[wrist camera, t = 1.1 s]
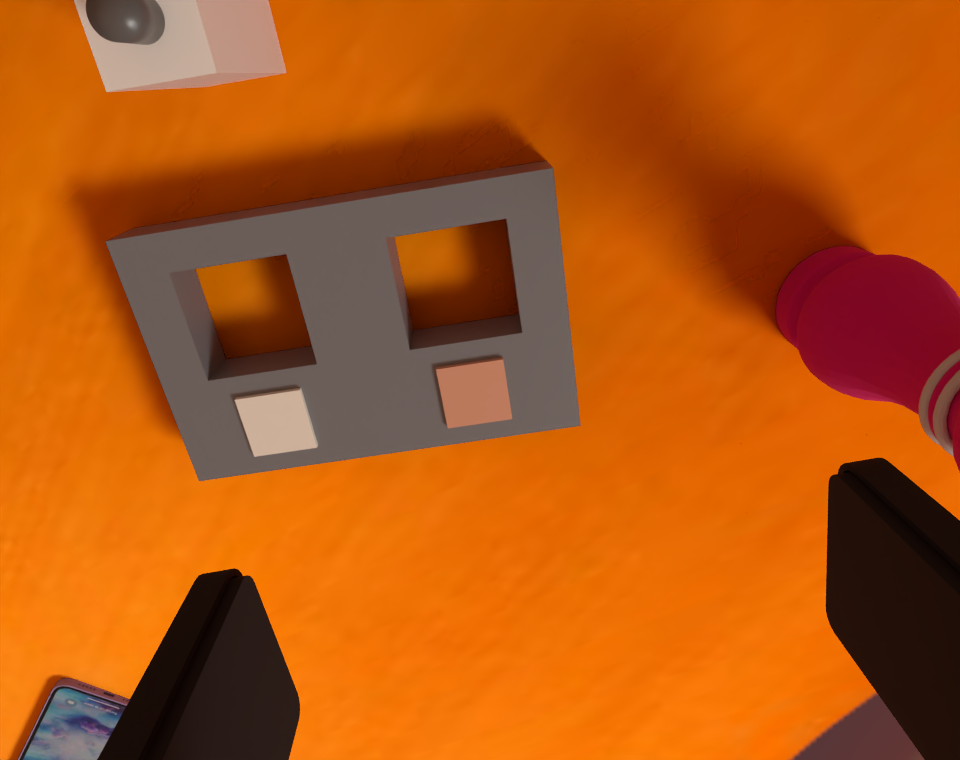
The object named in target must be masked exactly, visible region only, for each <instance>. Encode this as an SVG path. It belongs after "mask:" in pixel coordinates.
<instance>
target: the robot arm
mask: <svg viewBox="0 0 960 760" xmlns="http://www.w3.org/2000/svg"><path fill="white" fill-rule="evenodd" d="M826 613H827V617H828V620H829V623H830V625H831V628H832V629H833V631H834V633H835V634H836V636H837V637H838V638H839V640H840V641H841V643H842V644H843V645H844V647H845V648H846V650H847V651H848V653H849V654H850V655H851V657H852V658H853V660H854V661H855V662H856V664H857V665H858V667H859V668H860V669H861V671H862V672H863V674H864V675H865V676H866V678H867V679H868V681H869V682H870V683H871V685H872V686H873V688H874V689H875V690H876V692H877V693H878V695H879V696H880V697H881V699H882V700H883V702H884V703H885V704H886V706H887V707H888V709H889V710H890V711H891V713H892V714H893V716H894V717H895V718H896V720H897V721H898V723H899V724H900V725H901V727H902V728H903V730H904V731H905V732H906V734H907V735H908V737H909V738H910V740H911V741H912V742H913V744H914V745H915V747H916V748H917V749H918V751H919V752H920V754H921V755H922V756H923V758H924V759H925V760H960V521H959V520H958V519H957V518H956V517H955V516H953V515H952V514H951V513H950V512H949V511H947V510H946V509H945V508H944V507H942V506H941V505H940V504H939V503H938V502H936V501H935V500H934V499H933V498H932V497H930V496H929V495H928V494H927V493H926V492H924V491H923V490H922V489H921V488H920V487H918V486H917V485H916V484H915V483H914V482H912V481H911V480H910V479H909V478H908V477H906V476H905V475H904V474H903V473H902V472H900V471H899V470H898V469H897V468H896V467H894V466H893V465H892V464H891V463H890V462H888V461H887V460H885V459H883V458H874V459H868V460H862V461H856V462H850V463H845V464H843V465H841V466H840V468H839V471H838V474H836V475H832V476H831V477H830V479H829V491H828V535H827V579H826ZM299 715H300V703H299V697H298V693H297V691H296V688H295V685H294V683H293V680H292V678H291V675H290V673H289V670H288V667H287V665H286V662H285V660H284V657H283V655H282V652H281V649H280V647H279V644H278V642H277V639H276V637H275V634H274V631H273V629H272V626H271V624H270V621H269V619H268V616H267V613H266V611H265V608H264V606H263V603H262V601H261V598H260V595H259V593H258V590H257V588H256V585H255V583H254V581H253V579H252V578H251V577H250V576H248V575H247V576H242V574H241V572H240V571H239V570H238V569H229V570H223V571H217V572H211V573H206V574H202V575H199V576H198V577H197V579H196V580H195V582H194V583H193V585H192V587H191V589H190V591H189V593H188V594H187V596H186V598H185V600H184V602H183V604H182V605H181V607H180V609H179V611H178V613H177V615H176V616H175V618H174V620H173V622H172V624H171V626H170V627H169V629H168V631H167V633H166V635H165V636H164V638H163V640H162V642H161V644H160V646H159V647H158V649H157V651H156V653H155V655H154V657H153V658H152V660H151V662H150V664H149V666H148V668H147V669H146V671H145V673H144V675H143V677H142V679H141V680H140V682H139V684H138V686H137V688H136V689H135V691H134V693H133V695H132V697H131V699H130V700H129V702H128V704H127V706H126V708H125V710H124V711H123V713H122V715H121V717H120V719H119V721H118V722H117V724H116V726H115V728H114V730H113V732H112V733H111V735H110V737H109V739H108V741H107V742H106V744H105V746H104V748H103V750H102V752H101V753H100V755H99V757H98V759H97V760H289V756H290V752H291V748H292V744H293V740H294V736H295V732H296V729H297V725H298V721H299Z"/></svg>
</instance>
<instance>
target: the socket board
mask: <svg viewBox="0 0 960 760" xmlns="http://www.w3.org/2000/svg"><path fill="white" fill-rule="evenodd" d="M501 219H505V222H506V229H507V236H508V243H509V251H510V258H511V265H512V272H513V279H514V287H515V294H516V301H517V308H518V314H517V315H510V316H504V317H497V318H491V319H484V320H478V321H471V322H465V323H458V324H452V325H445V326H439V327H432V328H426V329H419V330H414V329H413V324H412V320H411V315H410V310H409V305H408V301H407V296H406V291H405V286H404V282H403V277H402V272H401V267H400V262H399V258H398V253H397V248H396V243H395V239H394V237H396V236H402V235H408V234H414V233H420V232H427V231H433V230H439V229H445V228H451V227H458V226H464V225H470V224H476V223H483V222H489V221H495V220H501ZM105 242H106V245H107V247H108V250H109V252H110V255H111V257H112V260H113V262H114V265H115V268H116V270H117V273H118V275H119V278H120V280H121V283H122V285H123V288H124V291H125V293H126V296H127V298H128V301H129V303H130V306H131V308H132V311H133V314H134V316H135V319H136V321H137V324H138V326H139V329H140V331H141V334H142V336H143V339H144V342H145V344H146V347H147V349H148V352H149V354H150V357H151V359H152V362H153V365H154V367H155V370H156V372H157V375H158V377H159V380H160V382H161V385H162V388H163V390H164V393H165V395H166V398H167V400H168V403H169V405H170V408H171V411H172V413H173V416H174V418H175V421H176V423H177V426H178V428H179V431H180V433H181V436H182V439H183V441H184V444H185V446H186V449H187V451H188V454H189V456H190V459H191V462H192V464H193V467H194V469H195V472H196V474H197V477H198V479H199V481H203V480H210V479H217V478H224V477H231V476H238V475H245V474H252V473H258V472H265V471H272V470H279V469H286V468H293V467H300V466H307V465H313V464H320V463H327V462H334V461H341V460H348V459H355V458H362V457H369V456H375V455H382V454H389V453H396V452H403V451H410V450H417V449H424V448H430V447H437V446H444V445H451V444H458V443H465V442H472V441H479V440H485V439H492V438H499V437H506V436H513V435H520V434H527V433H534V432H540V431H547V430H554V429H561V428H568V427H575V426H580V416H579V407H578V398H577V388H576V379H575V369H574V360H573V350H572V341H571V331H570V322H569V313H568V303H567V294H566V284H565V275H564V265H563V256H562V246H561V237H560V228H559V218H558V209H557V199H556V190H555V180H554V171H553V167H552V166H551V165H550V164H549V163H548V162H547V161H540V162H534V163H528V164H522V165H516V166H510V167H504V168H498V169H492V170H486V171H479V172H473V173H467V174H461V175H455V176H449V177H443V178H437V179H431V180H425V181H419V182H413V183H406V184H400V185H394V186H388V187H382V188H376V189H370V190H364V191H358V192H352V193H346V194H340V195H334V196H327V197H321V198H315V199H309V200H303V201H297V202H291V203H285V204H279V205H273V206H267V207H261V208H254V209H248V210H242V211H236V212H230V213H224V214H218V215H212V216H206V217H200V218H194V219H188V220H182V221H175V222H169V223H163V224H157V225H151V226H145V227H139V228H133V229H131V230H129V231H127V232H124V233H122V234H120V235H118V236H116V237H114V238H111V239H109V240H107V241H105ZM284 254H286V255H287V258H288V262H289V266H290V269H291V273H292V276H293V280H294V283H295V287H296V291H297V294H298V298H299V301H300V305H301V308H302V312H303V316H304V319H305V323H306V326H307V330H308V333H309V337H310V340H311V344H312V346H309V347H302V348H296V349H289V350H283V351H276V352H270V353H263V354H257V355H250V356H244V357H237V358H231V359H226V358H225V355H224V352H223V349H222V346H221V343H220V340H219V337H218V334H217V331H216V329H215V326H214V323H213V320H212V317H211V314H210V311H209V308H208V305H207V302H206V299H205V296H204V293H203V290H202V288H201V285H200V282H199V279H198V276H197V273H196V270H195V269H197V268H203V267H209V266H215V265H221V264H228V263H234V262H240V261H246V260H253V259H259V258H265V257H271V256H277V255H284Z"/></svg>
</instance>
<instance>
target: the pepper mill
mask: <svg viewBox="0 0 960 760" xmlns="http://www.w3.org/2000/svg"><path fill="white" fill-rule="evenodd" d="M776 319H777V324H778V326H779V329H780V331H781V332H782V334H783V335H784V337H785V338H786V339H787V340H788V341H789V342H790V343H791V344H792V345H794V346H795V347H796V348H797V349H798V350H799V353H800V355H801V358H802V360H803V362H804V363H805V365H806V367H807V368H808V369H809V370H810V372H811V373H812V374H813V375H814V376H816V377H817V378H818V379H819V380H821V381H822V382H824V383H825V384H826V385H828V386H829V387H831V388H833V389H835V390H837V391H839V392H841V393H843V394H846V395H850V396H853V397H856V398H860V399H864V400H874V401H888V402H894V403H897V404H900V405H903V406H905V407H907V408H908V409H910V410H912V411H913V412H915V413H917V414H919V418H920V422H921V425H922V428H923V429H924V431H925V432H926V434H927V435H928V436H929V437H930V438H931V439H932V440H933V441H934V442H935V443H937V444H939V445H940V446H942V447H943V448H944V450H946V451H947V452H948V453H949V454H951V455H952V456H954V458H955V461H956V463H957V466H958V469H959V471H960V299H959V297H958V296H957V294H956V292H955V291H954V290H953V289H952V288H951V287H950V285H949V284H948V283H947V282H946V281H945V280H944V279H943V278H942V277H941V276H939V275H938V274H937V273H936V272H935V271H933V270H932V269H930V268H928V267H926V266H925V265H923V264H921V263H919V262H917V261H915V260H913V259H910V258H907V257H903V256H898V255H875V254H873V253H870V252H868V251H866V250H864V249H861V248H857V247H852V246H838V247H832V248H827V249H824V250H822V251H819V252H817V253H814V254H812V255H811V256H809V257H808V258H806V259H805V260H803V261H802V262H801V263H799V264H798V265H797V266H796V267H795V268H794V269H793V270H792V272H791V273H790V274H789V275H788V276H787V278H786V280H785V281H784V283H783V285H782V287H781V289H780V291H779V294H778V298H777V303H776Z"/></svg>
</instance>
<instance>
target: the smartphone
mask: <svg viewBox="0 0 960 760" xmlns="http://www.w3.org/2000/svg"><path fill="white" fill-rule="evenodd" d="M129 700H130V699H127V698H124V697H122V696H119V695H116V694H113V693H111V692H108V691H105V690H103V689H100V688H97V687H94V686H92V685H89V684H86V683H83V682H81V681H78V680H75V679H71V678H63V679H60V680H59V681H58V682H57V683H56V685H55V686H54V688H53V689H52V691H51V693H50V695H49V697H48V699H47V701H46V703H45V705H44V707H43V709H42V711H41V713H40V715H39V717H38V719H37V721H36V723H35V725H34V727H33V730H32V732H31V734H30V736H29V738H28V740H27V742H26V744H25V746H24V748H23V750H22V752H21V754H20V755H19V757H18V759H17V760H97V759H98V757H99V755H100V753H101V752H102V750H103V748H104V746H105V744H106V742H107V741H108V739H109V737H110V735H111V733H112V732H113V730H114V728H115V726H116V724H117V722H118V721H119V719H120V717H121V715H122V713H123V711H124V710H125V708H126V706H127V704H128V702H129Z"/></svg>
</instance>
